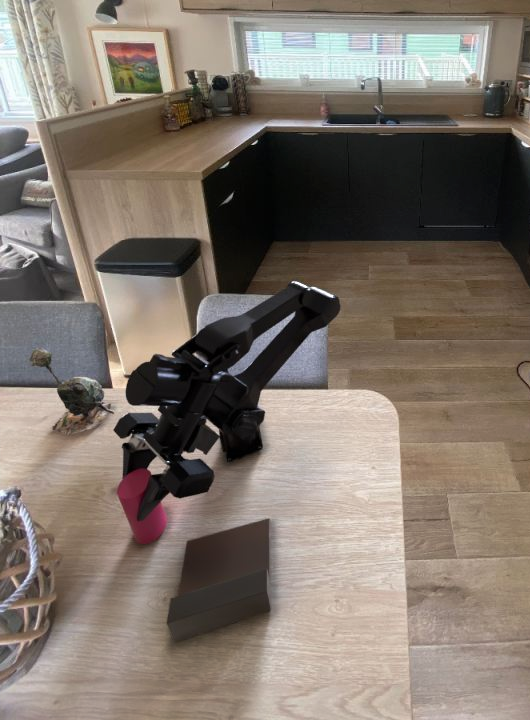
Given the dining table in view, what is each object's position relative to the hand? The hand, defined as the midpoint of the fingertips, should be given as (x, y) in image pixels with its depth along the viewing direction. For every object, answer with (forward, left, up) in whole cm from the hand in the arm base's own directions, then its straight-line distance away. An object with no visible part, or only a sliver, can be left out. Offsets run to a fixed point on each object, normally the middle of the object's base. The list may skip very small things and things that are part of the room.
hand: (131, 510), depth 58 cm
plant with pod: (+12, -28, -7) cm, 31 cm away
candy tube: (-1, -1, -7) cm, 7 cm away
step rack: (-12, +11, -7) cm, 17 cm away
